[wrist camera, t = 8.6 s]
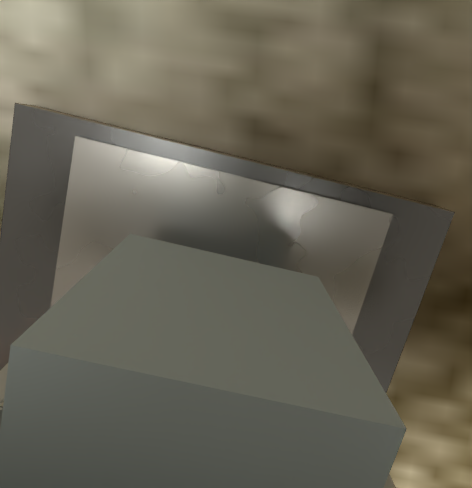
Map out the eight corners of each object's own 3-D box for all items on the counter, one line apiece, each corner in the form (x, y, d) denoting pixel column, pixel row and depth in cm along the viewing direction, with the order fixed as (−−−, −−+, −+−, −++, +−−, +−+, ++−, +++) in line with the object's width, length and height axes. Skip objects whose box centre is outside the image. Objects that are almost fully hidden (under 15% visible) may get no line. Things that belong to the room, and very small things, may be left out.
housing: (130, 233, 11) (-8, 362, 5) (318, 277, 11) (419, 451, 5) (89, 458, 13) (-54, 771, 6) (253, 491, 13) (269, 820, 7)
